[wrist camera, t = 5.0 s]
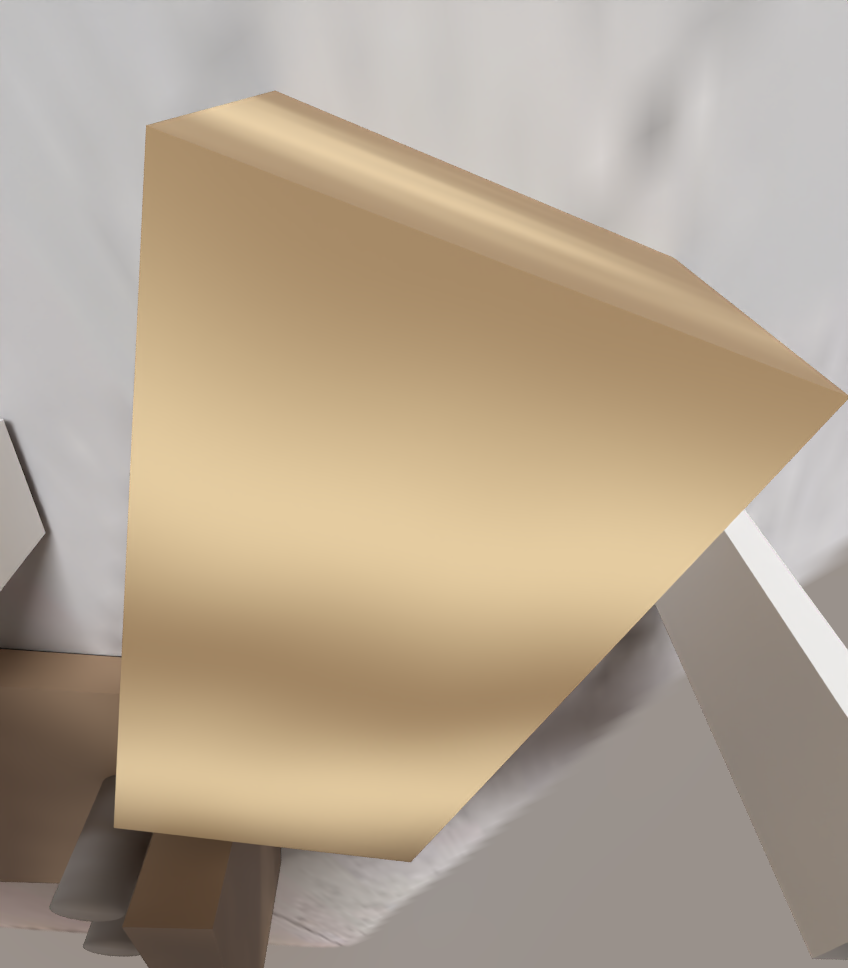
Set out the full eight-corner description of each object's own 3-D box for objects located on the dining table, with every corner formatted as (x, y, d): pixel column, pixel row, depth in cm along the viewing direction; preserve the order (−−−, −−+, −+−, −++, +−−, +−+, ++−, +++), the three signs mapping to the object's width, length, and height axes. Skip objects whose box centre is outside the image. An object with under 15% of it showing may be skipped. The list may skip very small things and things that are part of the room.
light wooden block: (411, 675, 15) (410, 861, 12) (189, 632, 14) (113, 827, 11) (668, 253, 8) (850, 396, 5) (279, 90, 7) (145, 124, 4)
